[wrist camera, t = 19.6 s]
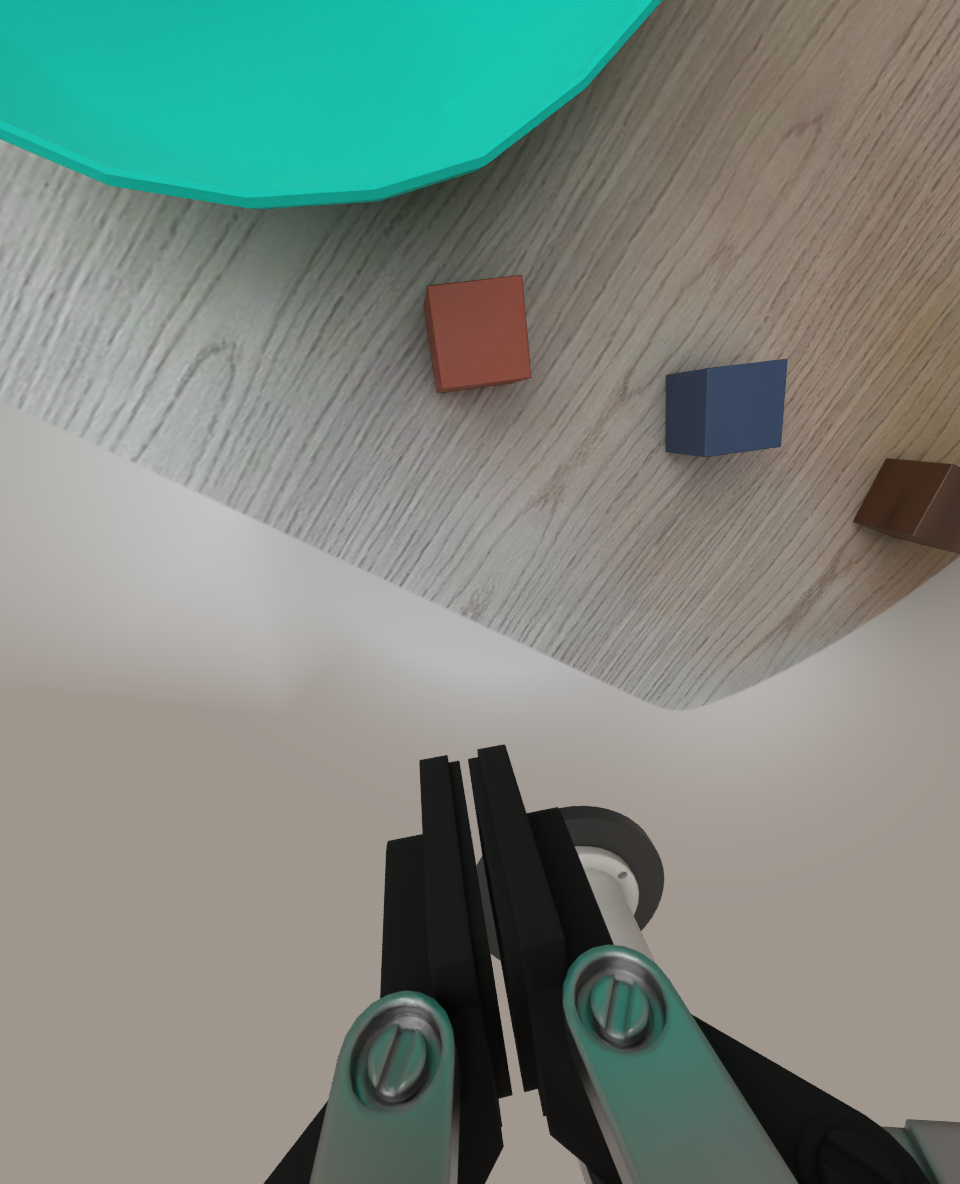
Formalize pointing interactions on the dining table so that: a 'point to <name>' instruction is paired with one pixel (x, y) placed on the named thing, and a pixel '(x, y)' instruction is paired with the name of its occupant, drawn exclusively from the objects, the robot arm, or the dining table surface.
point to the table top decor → (293, 89)
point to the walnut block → (915, 503)
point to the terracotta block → (477, 333)
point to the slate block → (725, 409)
